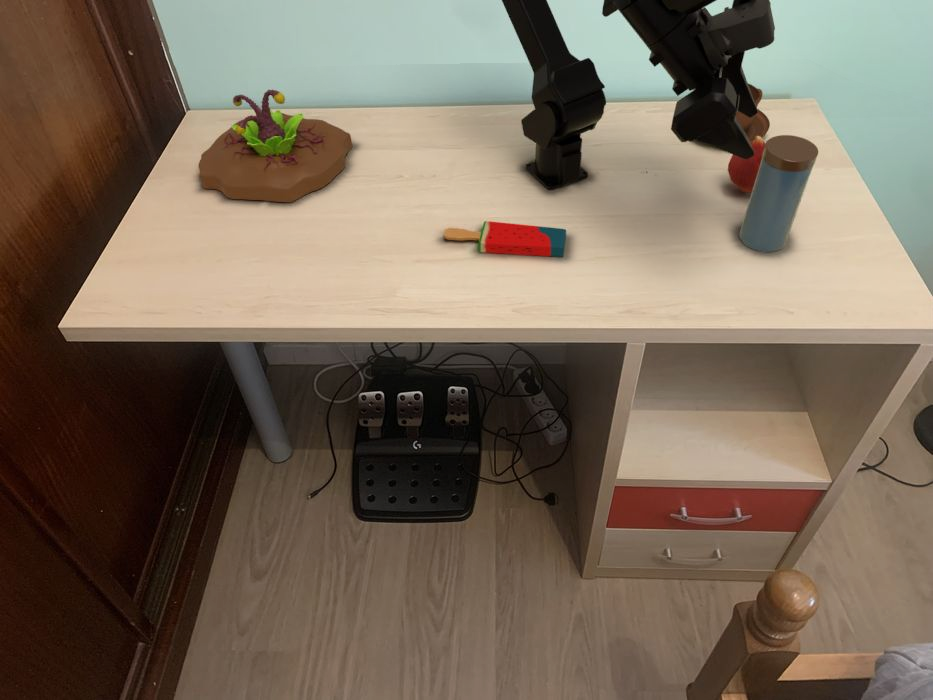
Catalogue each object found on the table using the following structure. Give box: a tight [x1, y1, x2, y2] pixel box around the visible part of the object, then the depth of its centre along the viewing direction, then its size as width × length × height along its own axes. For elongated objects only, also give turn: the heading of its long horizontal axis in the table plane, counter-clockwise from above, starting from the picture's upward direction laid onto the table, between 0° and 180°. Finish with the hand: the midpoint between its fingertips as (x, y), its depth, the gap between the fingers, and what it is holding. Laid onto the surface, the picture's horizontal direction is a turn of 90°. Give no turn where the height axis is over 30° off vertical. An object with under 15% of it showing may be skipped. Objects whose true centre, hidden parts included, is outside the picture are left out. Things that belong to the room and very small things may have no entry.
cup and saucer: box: [736, 83, 771, 142], centre depth 105 cm, size 12×12×6 cm
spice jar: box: [738, 134, 819, 253], centre depth 86 cm, size 6×6×12 cm
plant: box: [197, 89, 353, 203], centre depth 101 cm, size 20×20×11 cm
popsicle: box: [443, 220, 567, 258], centre depth 91 cm, size 4×2×15 cm
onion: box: [727, 136, 766, 194], centre depth 94 cm, size 6×6×8 cm
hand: (752, 135), depth 81 cm, fingers open, 9 cm apart
